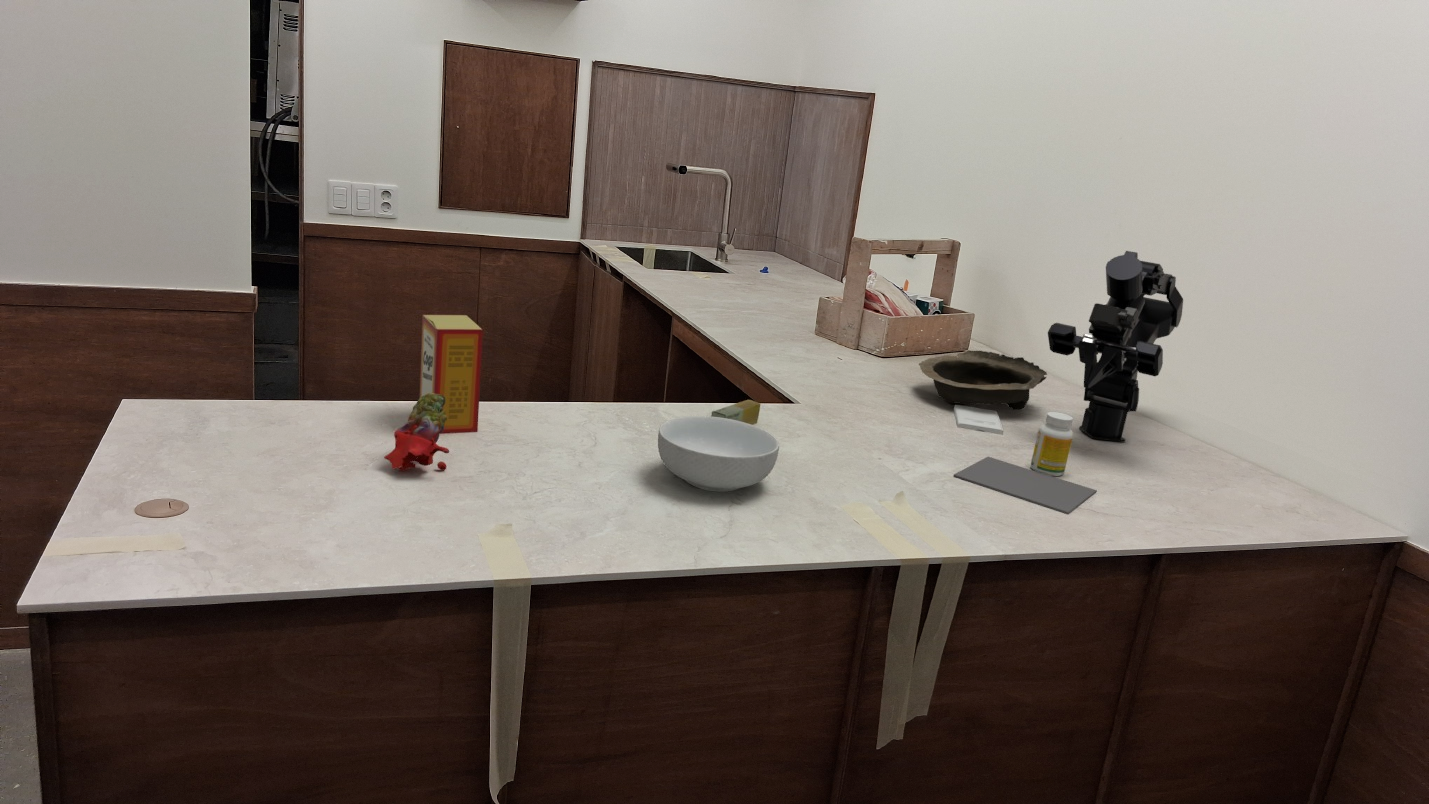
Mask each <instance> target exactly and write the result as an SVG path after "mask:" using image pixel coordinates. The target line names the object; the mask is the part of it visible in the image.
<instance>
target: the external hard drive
mask: <svg viewBox="0 0 1429 804" xmlns="http://www.w3.org/2000/svg"><path fill="white" fill-rule="evenodd" d="M953 412H954V416H955V421H956V426H957V428H959V429H964V430H971V431H979V432H984V433H989V434H995V435H1001V436H1003V435H1004V432H1005V431H1004V429H1003V425H1002V422H1001V419H1000V417H999V413H998V412H997V410H991V409H985V408H978V407H974V406H968V405H963V404H962V405H961V404H955V405H954V408H953Z"/></svg>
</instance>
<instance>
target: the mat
mask: <svg viewBox="0 0 1429 804" xmlns="http://www.w3.org/2000/svg"><path fill="white" fill-rule="evenodd" d="M953 477H954V478H957V479H960V480H963V481H966V482H968V483H973V484H976V485H978V486H981V487H984V488H987V489H991V490H993V491H996V492H1000V493H1003V494H1005V495H1009V496H1011V497H1015V498H1018V499H1022V500H1024V501H1027V502H1031V503H1032V504H1036V505H1038V506H1039V505H1040V506H1042V507H1045V508H1048V509H1051V510H1054V511H1058V512H1060V513H1064V514H1067V515H1069V514H1070V513H1071V512H1073V511H1074V510H1075V509H1077V508H1078V507H1079V506H1081V505H1082V504H1083V503H1085V502H1086V501H1087V500H1088V499H1089V498H1091V497H1093V495H1095V494H1096V493H1097V489H1094V488H1092V487H1091V488H1090V487H1087V486H1084V485H1081V484H1078V483H1076V482H1075V483H1074V482H1072V481H1068V480H1064V479H1063V478H1058V477H1057V476H1049V475H1046V474H1043V473H1040V472H1036V471H1034V470H1033V469H1030V468H1026V467H1023V466H1019V465H1017V464H1013V463H1010V462H1007V461H1004V460H1000V459H997V458H994V457H991V456H986V457H984V458H982V459H981V460H979V461H976V462H975V463H973V464H971V465H969V466H968V467H965V468H964V469H961V470H960V471H958V472H956V473H954V474H953Z"/></svg>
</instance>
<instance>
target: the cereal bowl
mask: <svg viewBox="0 0 1429 804" xmlns="http://www.w3.org/2000/svg"><path fill="white" fill-rule="evenodd" d="M657 448H658V453H659V455H658V456H659V457H660V459H661V460H662V463H663V464H664V466H665V467H666V468H667V470H669V471H670V472H671V473H672V474H674V475H675V476H676V477H679V478H680V479H682V480H684V481H686V482H687V483H688V484H690V485H691V486H693V487H695V488H698V489H701V490H704V491H708V492H709V491H710V492H718V493H719V492H721V493H722V492H725V493H726V492H732V491H735V490H737V489H741V488H742V489H743V488H747V487H750V486H753V485H755V484H757V483H760V482H762V481H763V480H764V479H766V478H767V477H768V476H769V474H771V472H772V471H773V469H774V467H775V465H776V462H777V459H778V456H779V455H778V454H779V450H780V442H779V440H778V439H777V438H776V437H775V436H774V434H772V433H770V432H769V431H767V430H765V429H764V428H761V427H759V426H757V425H755V424H753V425H751V424H748V423H744V422H741V421H736V420H732V419H727V418H720V417H711V416H708V415H690V416H681V417H674V418H671V419H669V420H667V421H665V422H663V423H662V424H661V425H660V427H659V429H658V435H657Z"/></svg>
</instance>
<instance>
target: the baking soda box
mask: <svg viewBox="0 0 1429 804" xmlns="http://www.w3.org/2000/svg"><path fill="white" fill-rule="evenodd" d="M421 319H422V320H421V321H422V322H421V344H420V346H421V347H420V348H421V349H420V370H419V371H420V373H419V398H418V400H419V399H420V397H422V396H424V395H426V394H428V393H435V394H440V395H443V396H444V397H445V404H444V405H443V408H442V409H443V410H445V415H446V416H447V420H446V421H445V423H444V429H443V431H442V432H441V433H440V435H444V434H461V433H463V434H465V433H478V430H479V429H478V427H479V408H480V407H479V406H480V394H481V393H480V391H481V374H482V373H481V371H482V355H483V353H482V351H483V334H484V333H483V331H484V330H483V329H482V328H481V327H480V326H479V325H478V324H477V323H476V322H475V321H474V320H472V319H471V318H470V317H469V316H468V315H467V314H422V317H421Z"/></svg>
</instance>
